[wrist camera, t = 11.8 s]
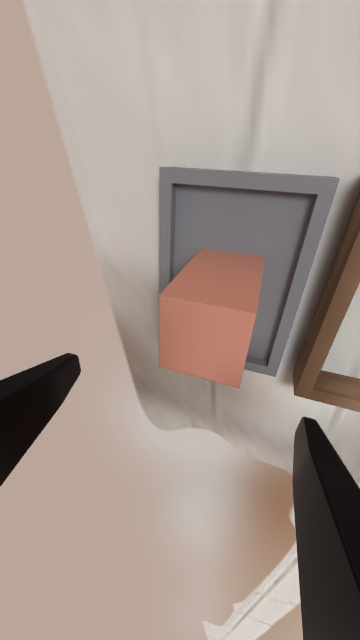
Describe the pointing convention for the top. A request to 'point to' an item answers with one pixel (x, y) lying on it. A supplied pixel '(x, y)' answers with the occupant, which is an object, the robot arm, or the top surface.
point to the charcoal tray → (248, 238)
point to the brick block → (210, 315)
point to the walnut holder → (332, 328)
